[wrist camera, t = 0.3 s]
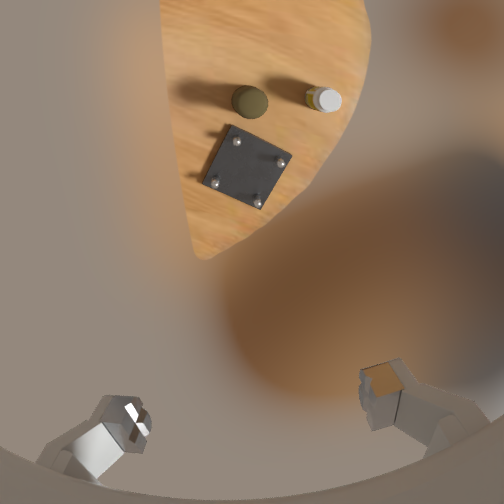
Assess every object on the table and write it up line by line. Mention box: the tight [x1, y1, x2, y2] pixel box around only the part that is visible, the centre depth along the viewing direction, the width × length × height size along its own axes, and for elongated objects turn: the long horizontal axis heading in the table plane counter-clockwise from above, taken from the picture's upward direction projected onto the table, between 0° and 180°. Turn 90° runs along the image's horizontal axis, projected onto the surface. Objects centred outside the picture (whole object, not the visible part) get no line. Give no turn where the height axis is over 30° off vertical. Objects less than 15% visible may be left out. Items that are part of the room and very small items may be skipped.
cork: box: [232, 86, 268, 119], centre depth 43 cm, size 6×6×11 cm
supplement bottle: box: [305, 87, 342, 113], centre depth 44 cm, size 5×5×8 cm
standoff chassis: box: [202, 125, 292, 210], centre depth 53 cm, size 13×13×5 cm
